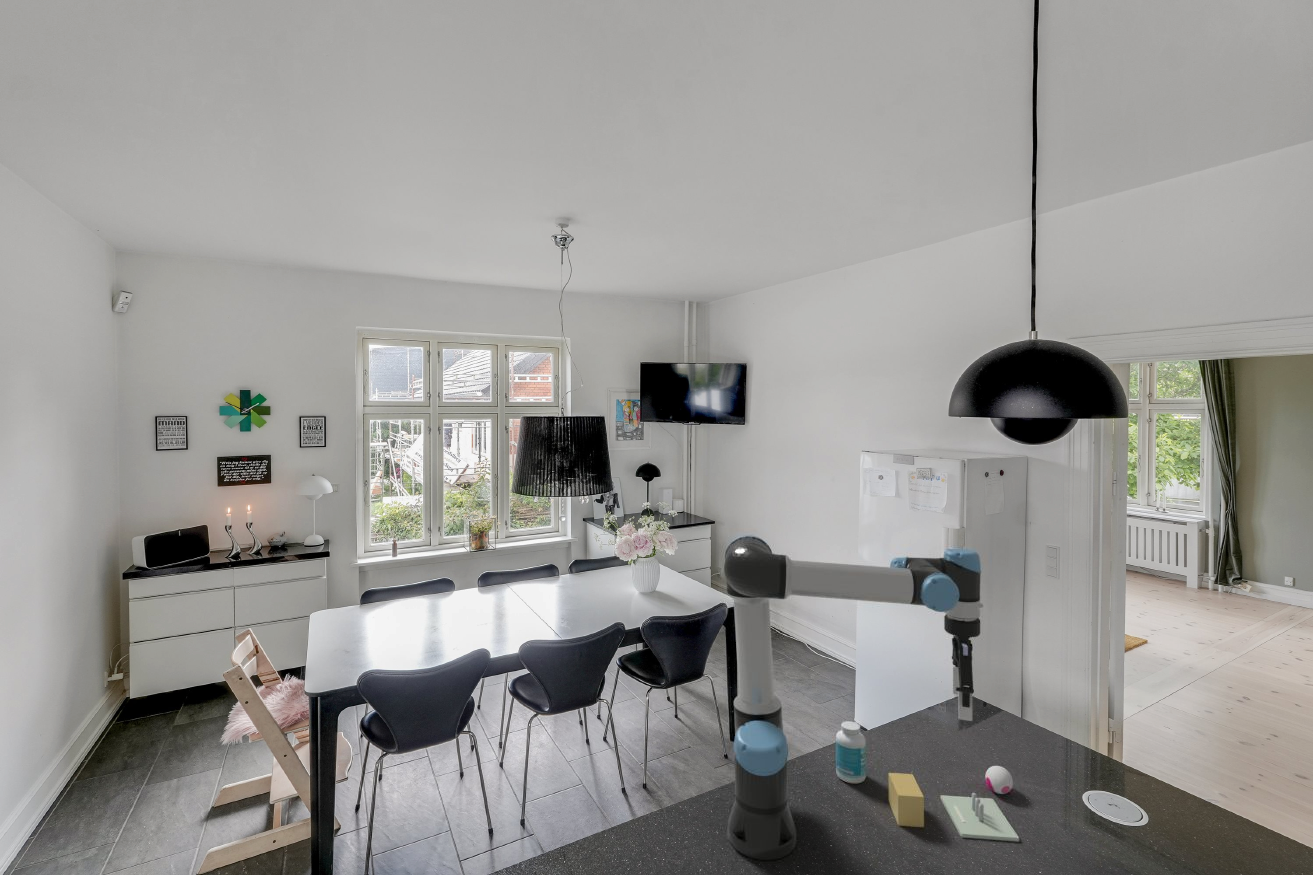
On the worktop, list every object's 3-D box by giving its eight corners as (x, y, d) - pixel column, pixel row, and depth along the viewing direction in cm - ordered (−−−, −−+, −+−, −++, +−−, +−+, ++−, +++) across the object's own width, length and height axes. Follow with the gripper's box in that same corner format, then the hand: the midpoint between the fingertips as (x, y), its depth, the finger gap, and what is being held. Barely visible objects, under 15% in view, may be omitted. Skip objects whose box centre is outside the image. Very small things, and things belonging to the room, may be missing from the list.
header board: (961, 836, 134) (961, 816, 134) (940, 798, 148) (940, 779, 148) (1019, 841, 132) (1019, 820, 132) (992, 801, 146) (992, 783, 146)
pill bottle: (867, 786, 153) (867, 733, 153) (837, 783, 154) (837, 731, 154) (863, 769, 160) (863, 719, 160) (834, 766, 162) (834, 717, 162)
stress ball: (988, 793, 155) (971, 769, 156) (1017, 781, 152) (1000, 756, 154) (993, 810, 148) (975, 784, 149) (1023, 797, 145) (1005, 771, 147)
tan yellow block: (898, 825, 138) (898, 795, 138) (888, 800, 147) (888, 772, 147) (923, 827, 137) (923, 796, 137) (912, 802, 146) (912, 774, 146)
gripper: (988, 635, 128) (988, 734, 128) (973, 602, 151) (973, 686, 151) (949, 631, 130) (949, 728, 131) (940, 599, 154) (940, 682, 154)
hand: (962, 706), depth 141 cm, fingers open, 13 cm apart
